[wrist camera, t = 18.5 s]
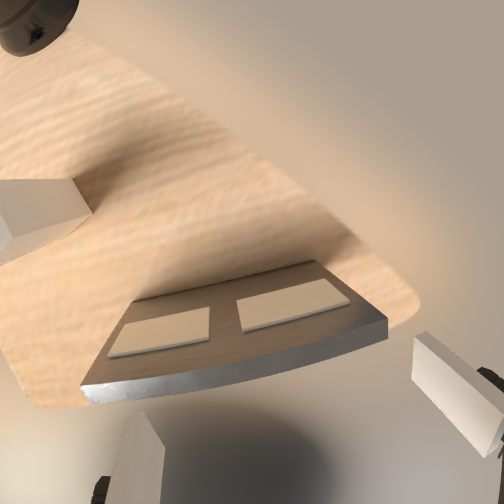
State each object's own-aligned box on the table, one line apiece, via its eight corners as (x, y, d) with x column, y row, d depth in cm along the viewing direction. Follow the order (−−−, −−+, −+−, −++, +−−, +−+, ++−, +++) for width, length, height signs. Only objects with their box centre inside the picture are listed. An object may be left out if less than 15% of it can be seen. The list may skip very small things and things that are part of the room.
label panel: (131, 300, 40) (78, 382, 21) (314, 257, 42) (387, 314, 23) (149, 350, 42) (118, 448, 23) (322, 311, 44) (387, 390, 25)
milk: (64, 238, 37) (-40, 287, 16) (44, 203, 36) (-67, 228, 15) (94, 213, 37) (-9, 246, 16) (72, 177, 36) (-39, 181, 14)
